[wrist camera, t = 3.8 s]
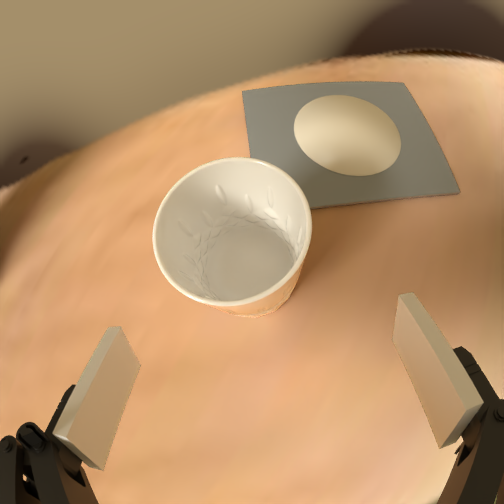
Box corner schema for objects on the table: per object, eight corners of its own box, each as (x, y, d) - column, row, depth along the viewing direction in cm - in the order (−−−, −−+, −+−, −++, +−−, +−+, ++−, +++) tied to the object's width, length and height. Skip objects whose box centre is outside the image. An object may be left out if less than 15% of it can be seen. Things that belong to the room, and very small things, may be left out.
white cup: (225, 218, 25) (191, 145, 16) (315, 244, 24) (329, 176, 14) (190, 305, 23) (128, 272, 14) (283, 339, 22) (280, 330, 12)
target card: (258, 216, 25) (257, 213, 25) (242, 93, 30) (241, 90, 30) (458, 194, 24) (460, 191, 23) (402, 85, 29) (403, 82, 28)
